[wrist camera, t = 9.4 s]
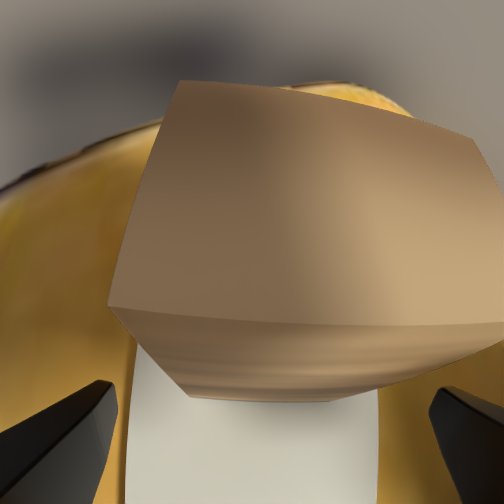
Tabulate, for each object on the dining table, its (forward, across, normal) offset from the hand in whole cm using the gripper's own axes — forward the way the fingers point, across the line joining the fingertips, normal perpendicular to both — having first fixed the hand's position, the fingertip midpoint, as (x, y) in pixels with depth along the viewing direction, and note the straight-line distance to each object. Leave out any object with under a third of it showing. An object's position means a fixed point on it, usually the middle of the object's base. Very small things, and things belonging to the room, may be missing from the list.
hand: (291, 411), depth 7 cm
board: (+4, 0, +6) cm, 7 cm away
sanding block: (+6, 0, +2) cm, 6 cm away
